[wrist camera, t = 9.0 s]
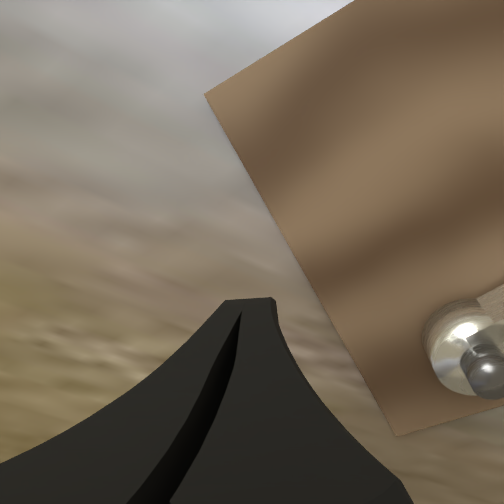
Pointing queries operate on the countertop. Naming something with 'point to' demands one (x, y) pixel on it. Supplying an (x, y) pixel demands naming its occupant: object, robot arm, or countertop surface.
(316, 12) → the countertop surface
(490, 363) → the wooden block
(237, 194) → the countertop surface
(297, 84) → the walnut board
